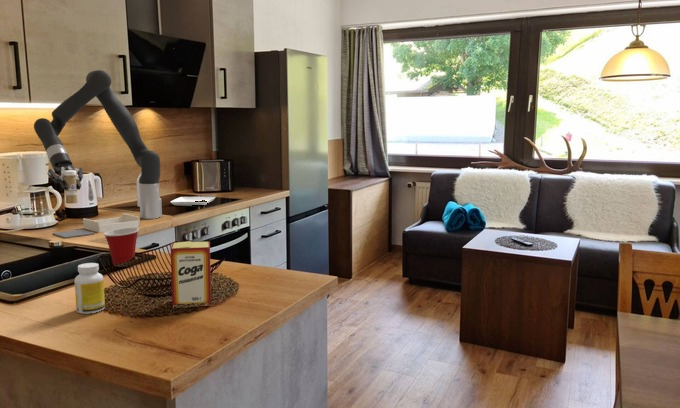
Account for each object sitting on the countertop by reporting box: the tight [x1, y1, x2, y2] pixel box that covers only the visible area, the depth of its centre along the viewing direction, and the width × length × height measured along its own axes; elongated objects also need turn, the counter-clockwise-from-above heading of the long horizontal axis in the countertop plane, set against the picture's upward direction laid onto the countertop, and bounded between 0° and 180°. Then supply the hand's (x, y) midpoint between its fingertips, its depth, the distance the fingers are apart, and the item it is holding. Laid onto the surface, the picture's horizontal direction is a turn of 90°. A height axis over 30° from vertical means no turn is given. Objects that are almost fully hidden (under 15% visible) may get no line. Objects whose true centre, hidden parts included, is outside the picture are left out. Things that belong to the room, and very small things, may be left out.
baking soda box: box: [170, 240, 212, 305], centre depth 137 cm, size 10×6×16 cm
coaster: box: [52, 228, 96, 239], centre depth 221 cm, size 12×12×1 cm
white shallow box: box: [82, 212, 141, 234], centre depth 237 cm, size 19×14×4 cm
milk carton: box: [136, 172, 141, 208], centre depth 298 cm, size 7×7×19 cm
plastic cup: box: [102, 227, 140, 266], centre depth 173 cm, size 11×11×12 cm
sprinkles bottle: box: [64, 170, 79, 204], centre depth 219 cm, size 5×5×14 cm
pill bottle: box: [74, 262, 106, 315], centre depth 131 cm, size 6×6×12 cm
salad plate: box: [170, 196, 216, 207], centre depth 310 cm, size 21×21×3 cm
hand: (73, 188), depth 218 cm, fingers closed on sprinkles bottle, 4 cm apart
